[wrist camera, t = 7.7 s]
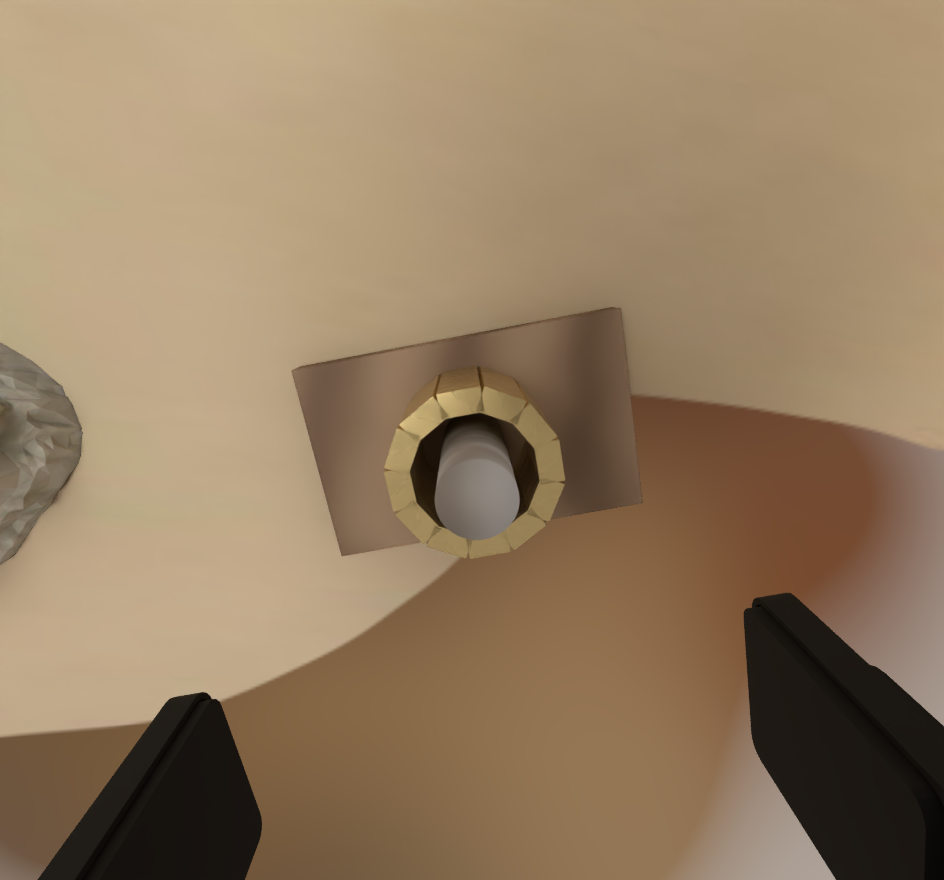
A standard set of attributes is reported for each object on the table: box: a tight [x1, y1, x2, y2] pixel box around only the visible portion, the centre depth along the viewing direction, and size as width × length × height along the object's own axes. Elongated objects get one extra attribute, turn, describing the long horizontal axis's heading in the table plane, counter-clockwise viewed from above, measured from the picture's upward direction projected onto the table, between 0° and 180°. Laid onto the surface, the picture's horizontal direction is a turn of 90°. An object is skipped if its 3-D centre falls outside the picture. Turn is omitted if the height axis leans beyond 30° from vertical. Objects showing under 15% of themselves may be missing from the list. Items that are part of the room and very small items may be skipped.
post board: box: [292, 307, 643, 556], centre depth 25 cm, size 16×10×10 cm, turn 101°
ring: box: [384, 366, 565, 559], centre depth 25 cm, size 7×7×6 cm
